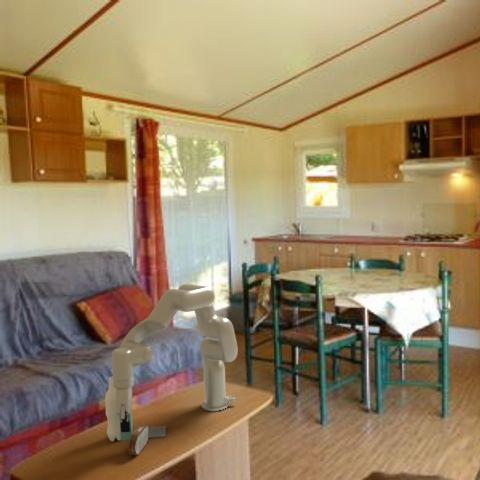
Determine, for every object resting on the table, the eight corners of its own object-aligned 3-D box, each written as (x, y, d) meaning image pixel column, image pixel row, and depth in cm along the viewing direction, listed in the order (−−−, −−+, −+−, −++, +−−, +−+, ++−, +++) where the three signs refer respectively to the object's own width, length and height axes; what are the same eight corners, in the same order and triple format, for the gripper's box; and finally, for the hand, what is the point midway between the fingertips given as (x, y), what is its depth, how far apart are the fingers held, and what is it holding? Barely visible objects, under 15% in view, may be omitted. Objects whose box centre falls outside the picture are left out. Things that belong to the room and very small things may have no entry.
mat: (166, 427, 219) (166, 425, 219) (165, 437, 210) (165, 435, 210) (137, 429, 218) (137, 427, 218) (134, 439, 209) (134, 438, 209)
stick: (133, 434, 201) (130, 399, 200) (131, 439, 197) (129, 403, 196) (122, 435, 201) (120, 400, 199) (120, 440, 197) (118, 404, 195)
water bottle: (119, 432, 215) (116, 373, 213) (129, 438, 210) (125, 377, 208) (103, 438, 210) (100, 377, 208) (113, 444, 205) (109, 382, 203)
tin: (143, 440, 208) (142, 419, 207) (151, 440, 208) (150, 419, 207) (128, 459, 194) (127, 437, 193) (136, 459, 193) (135, 437, 192)
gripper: (116, 374, 205) (119, 420, 207) (109, 390, 188) (112, 440, 190) (136, 373, 205) (139, 418, 207) (131, 389, 189) (133, 438, 190)
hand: (126, 428), depth 198 cm, fingers closed on stick, 4 cm apart
